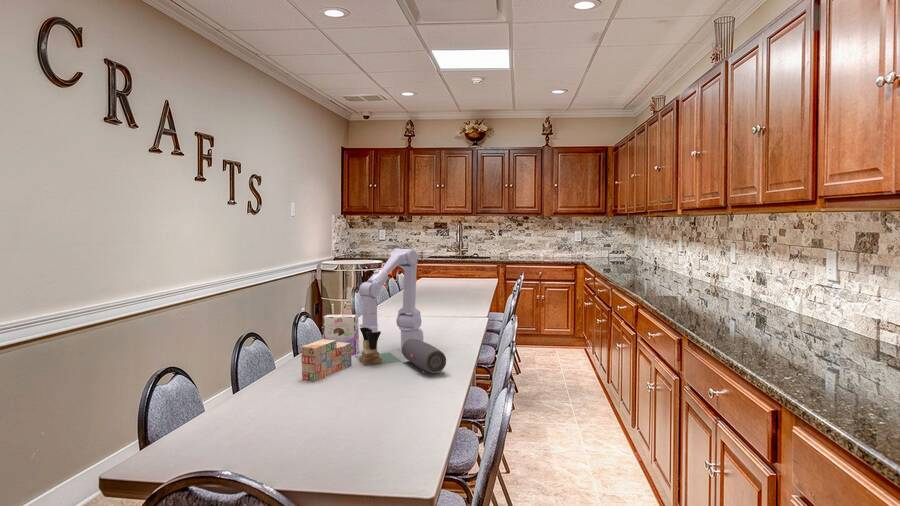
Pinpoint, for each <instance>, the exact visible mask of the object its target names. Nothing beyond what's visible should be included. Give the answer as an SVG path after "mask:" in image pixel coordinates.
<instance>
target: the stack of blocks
mask: <svg viewBox="0 0 900 506" xmlns="http://www.w3.org/2000/svg"><path fill="white" fill-rule="evenodd" d="M300 351H301V354H300V355H301V357H300V358H301V376H302V377H301V379H303V381H310V382H315V381H316V382H318V381H321V380H323V378H324V379H326V378H325V377H328V376H330V375H332V374H335V373H337V372H339V371H342V370H344V369H347V368H349V367H352V355H351V343H343V342H336V340H326V339H324V338H323V339H319V340H317V341H313V342H311V343H308V344H304V345H302V346H301V350H300Z"/></svg>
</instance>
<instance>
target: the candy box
mask: <svg viewBox="0 0 900 506" xmlns="http://www.w3.org/2000/svg"><path fill="white" fill-rule="evenodd" d="M322 323H323V339H326V340H336V342H343V343H351V356H352V355H353V356H357V355H358V354H359V352H360V334H359V332H360V331H359V330H360V327H359V314H326V315H323V317H322Z"/></svg>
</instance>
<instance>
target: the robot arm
mask: <svg viewBox="0 0 900 506" xmlns="http://www.w3.org/2000/svg"><path fill="white" fill-rule="evenodd" d="M397 266H399V267H400V268H401V269H402V270H403V291H402V307H401V308H400V309H398V311H397V316H396V319H395V320H396V321H395V322H396V326H397V327H398V330H400V347H399V346H398V347H397V349H398V350H400V351H401V352H402V346H403V344H404V343H405V341H406V340H408V339H418V340H420V341H423V342H425V340H424V331H423V329H422V328H421V326H422V318H421V311H420V310H419V309H418V308H417V307H416V300H417V299H416V295H417V293H416V292H417V272H418V271H417V268H418V253H417V251H416V250H415V249H414V248H397V247H395V248H394V249H392V251H390V253H389V258H388V259H387V261H386V262H385V263H384V265H383V266H382V268H381V269H380V268H379V269H376V270H375V271H374V272H373V274H372V275H371V276H370V278H368V280H367V281H364V282H362V283H361V284H360V285H359V289H358V294H359V297H360V300H361V304H362V305H361V306H362V307H361V310H362V311H361V312H362V315H361V319H362V321H361V322H362V323H361V324H359V330H360V332H361V334H362V340H368V341H369V347H370V350H374V349H376V346H377V347H378V341H379V337H380V335H381V333H382V332H381V331H380V330H378V329H379V328H378V326H379V324H378V301H377V300H378V297H379V296H380V293H381V290H382V287H383V286H384V285H385V284H386V282H387V281H388V280H389V276H388V275H389V274H390V273H392V271H394V270H395V268H397Z"/></svg>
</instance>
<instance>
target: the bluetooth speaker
mask: <svg viewBox="0 0 900 506" xmlns="http://www.w3.org/2000/svg"><path fill="white" fill-rule="evenodd" d="M423 341H424V340H423ZM423 341H420V340H418V339H408V340H406V341H405V343H404V344H403V346H402V351H401V353H402V355H403V357H404V358H405V359H406V360H408V361H409V362H411V363H412V364H413V365H414V366H415V367H416V368H418V369H419V370H421V371H422V372H423V371H424V373H433V374H438V373H440V372H442V371H443V370H444V368H445V367H446V366H447V358H446V355H445V353H444V352H443V351H441V350H440V349H439V348H437V347H435V346H433V345H432V344H430V343H427V342H425V341H424V342H423Z"/></svg>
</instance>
